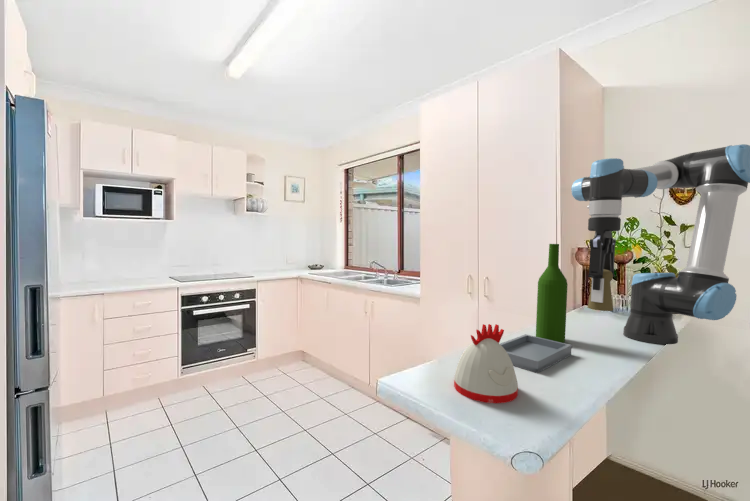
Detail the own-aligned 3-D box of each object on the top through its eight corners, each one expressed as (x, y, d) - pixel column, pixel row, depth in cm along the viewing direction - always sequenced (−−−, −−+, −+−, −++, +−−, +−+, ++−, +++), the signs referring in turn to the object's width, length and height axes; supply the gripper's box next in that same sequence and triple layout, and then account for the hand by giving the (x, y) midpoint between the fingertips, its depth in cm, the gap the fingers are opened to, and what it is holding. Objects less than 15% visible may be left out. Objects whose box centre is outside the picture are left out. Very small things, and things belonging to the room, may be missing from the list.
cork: (617, 311, 96) (619, 270, 95) (592, 310, 97) (594, 270, 96) (607, 307, 102) (609, 268, 101) (584, 305, 103) (585, 267, 102)
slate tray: (525, 343, 116) (525, 334, 116) (571, 354, 106) (571, 344, 106) (488, 358, 102) (488, 347, 102) (537, 373, 91) (537, 361, 91)
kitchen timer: (531, 399, 77) (534, 330, 76) (475, 407, 73) (477, 334, 72) (492, 374, 90) (494, 315, 89) (443, 379, 86) (445, 318, 86)
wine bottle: (559, 336, 124) (563, 243, 123) (569, 344, 116) (573, 244, 114) (532, 335, 126) (536, 243, 124) (539, 342, 117) (543, 243, 116)
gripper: (600, 218, 107) (596, 295, 108) (576, 215, 95) (573, 302, 96) (630, 217, 101) (626, 298, 102) (609, 215, 89) (605, 307, 90)
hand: (600, 300), depth 99 cm, fingers closed on cork, 5 cm apart
